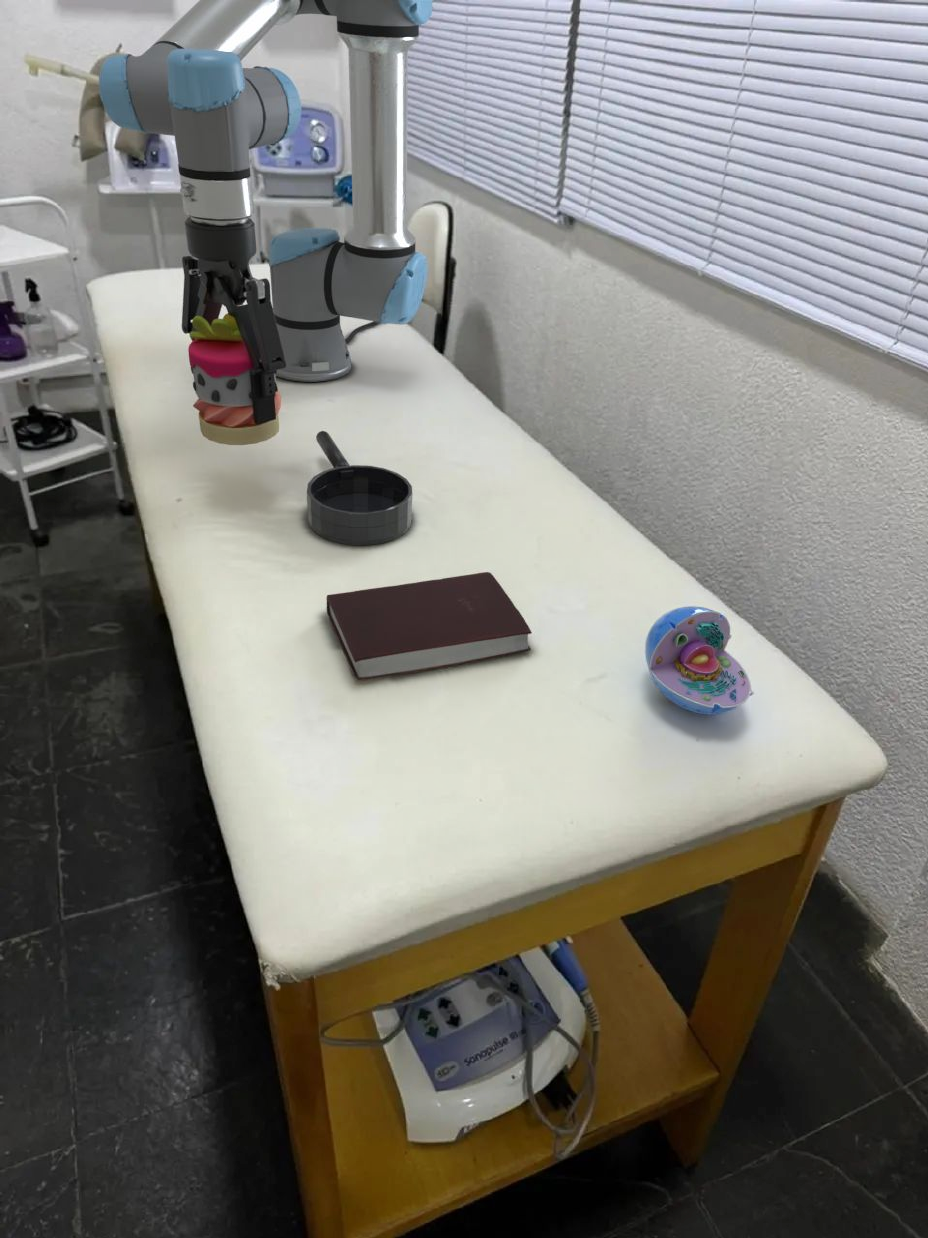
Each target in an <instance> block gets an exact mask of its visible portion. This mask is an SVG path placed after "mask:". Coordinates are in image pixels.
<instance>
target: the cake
mask: <svg viewBox="0 0 928 1238" xmlns="http://www.w3.org/2000/svg"><path fill="white" fill-rule="evenodd" d="M191 322H192V325H193V327H194V328H195V329H196V330H197V331H198V332H190V334H189V338H190V339H191V338H193V339H195V340H193V341H192V340H191V342H190V344H189V345H188V349H187V350H188V360H189V365H190V371H191V374H192V376H193V382H192V388H193V390H194V391H195V395H196V397H197V398H198V399H197V400H196V401H195V402H194V403H193V405H192V407H193V408H194V409H196V410H197V411H198V423H199V428H200V432H201V435H202V436H203V437H204V438H205V439H207V440H209V441H211V442H214V443H217V444H219V445H220V444H221V445H227V446H247V445H256V444H259V443H262V442H265V441H268V440H270V439H272V438H274V437H275V436H276V435H277V434H278V433H279V431H280V418H279V413H280V410H281V407H282V396H281V395H280V392H279V388H278V384H277V376H276V375H275V374H276V373H277V370H275V371H274V378H275V392H276V393H275V411H276V419H275V420H272V421H269V422H266V423H263V424H259V425H257V424H255V423H254V414H253V403H252V392H251V380H250V372H249V371H250V370H252V369H254V367H253V364H252V362H251V359H250V357H249V354H248V352H247V349H246V347H245V344H244V342H243V339H242V337H241V334H240V332H239V329H238V326H237V324H236V321H235V319H234V317H232V316H230V315H229V314H228V312H227V313H226V314H224V315H223V317H222V318H218V319H214V320H213V322H212V325H211V326H210V325H209V323H208V322H207V321H206V320H205V319H204V318H203V317H200V316H195V317H194V318H193V320H191ZM275 359H276V358H275ZM260 360H261V359H260ZM261 362H262V361H261Z"/></svg>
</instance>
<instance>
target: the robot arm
mask: <svg viewBox="0 0 928 1238" xmlns="http://www.w3.org/2000/svg"><path fill="white" fill-rule="evenodd" d="M434 1H435V0H198V1H197V2H196V3H195V4H194V5H193V6H192V7H191V8H190V9H189V10H188V11H187V12H185V14H184V15H182V17H181V18H179V19H178V20H177V21H176V22H175V23H174V24H173V25H172V26H171V27H170V28H169V29H168V30H167V31H165V33H164V34H163V35H162V36H161V37H159V38H158V40H156V41H155V42H154V43H153V44H152V45H151V46H150V47H149V48H148V49H146V50H145V51H144V52H143V53H142V54H141V55H137V56H136V55H133V54H131V53H126V54H122V55H121V54H117V55H116V54H114V55H110V56H108V57H107V58H105V60H104V62H103V63H102V65H101V68H100V71H99V75H98V92H99V96H100V101H101V103H102V104H103V108H104V112H105V113H106V115H107V116H108V118H109V119H110V120H111V122H113V123H114V125H116V126H117V127H119V128H122V129H125V130H130V131H135V132H141V133H142V134H146V135H148V134H155V135H163V136H172V137H174V141H175V143H174V144H175V148H176V155H177V156H176V157H177V163H178V164H177V167H178V174H179V182H180V189H179V194H180V195H181V199H182V207H183V212H184V214H185V215H187V216H188V217H187V218H186V220H185V221H184V227H185V235H186V246H187V251H188V253H189V254H190V255H186V256H182V258H181V262H182V269H183V293H182V310H181V312H182V314H181V330H182V332H183V333H184V334H186V335H187V334H189V335H190V332H198V331H197V330H196V329H195V328H194V327H193V325H192V321H193V318H194V317H195V316H200V317H203V318H204V319H205V320H206V321H207V322H208V323H209V325H210V326H211V325H212V322H213V320H214V319H220V318H219V317H220V314H221V311H222V307H225V309H226V311H227V313H228V314H229V315H230V316H232V317H234V319H235V321H236V324H237V326H238V329H239V332H240V334H241V337H242V339H243V342H244V344H245V347H246V349H247V352H248V354H249V357H250V359H251V362H252V364H253V367H254V369H252V370H250V371H249V372H250V380H251V392H252V403H253V414H254V423H255V424H257V425H259V424H263V423H266V422H269V421H272V420H275V419H276V411H275V393H276V392H275V378H274V371H275V370H277V373H276V374H275V375H276V378H277V377H278V378H280V379H284V380H287V381H293V382H303V383H304V382H305V383H314V382H315V383H317V382H327V381H332V380H337V379H339V378H342V377H344V376H346V375H347V374H349V372H350V371H351V369H352V363H351V362H352V359H351V354H350V352H349V349H348V345H347V343H349V342H350V341H351V340H352V339H353V337H354V336H355V335H356V333H358V332H360V331H362V330H364V329H365V330H366V329H368V328H371V327H373V326H376V325H378V324H381V325H386V324H391V325H397V326H398V325H401V326H403V325H406V324H409V322H411V321H412V320H413V318H414V317H415V316H416V314H417V312H418V310H419V308H420V305H421V303H422V300H423V297H424V293H425V290H426V285H427V279H428V278H427V277H428V263H427V257H426V256H425V255H424V254H423V253H421V252H419V251H416V240H417V239H416V236H415V235H414V234H413V233H412V232H411V231H410V230H409V229H408V226H407V211H408V210H407V205H408V203H407V202H408V201H407V199H408V194H407V193H408V103H409V102H408V100H409V99H408V98H409V97H408V95H409V94H408V89H409V86H408V84H409V52H410V50H411V48H412V47H413V46H414V45H415V43H416V42H417V41H418V40H419V38H420V26H422V25H425V24H427V22H428V21H429V20H430V18H431V16H432V14H433V8H434V7H433V3H434ZM298 15H324V16H330V17H331V16H332V17H336V34H337V36H339V38H340V39H341V41H342V42H343V43H344V44H345V45H346V48H347V50H348V51H347V55H348V80H349V81H348V83H349V84H348V85H349V89H348V90H349V120H350V122H349V123H350V124H349V125H350V157H351V161H350V162H351V192H352V193H351V195H352V196H351V197H352V226H351V227H350V228H349V229H348V231H347V232H345V234H344V236H343V238H344V239H343V242H342V241H340V240H341V237H340V235H339V232H338V230H336V229H332V228H328V227H314V228H312V227H311V228H301V229H293V230H288V231H284V232H280V233H278V234H276V235H275V236H274V237H272V238H271V240H270V243H269V259H268V260H269V262H268V267H269V273H270V275H269V276H270V280H269V279H268V278H267V277H266V278H265V277H264V278H259V279H258V278H256V277H253V274H252V271H251V268H250V261H251V259H252V258H254V256H255V255H256V254H257V237H256V225H255V222H254V221H253V219H252V218H251V217H252V216H253V215H254V213H255V207H254V194H253V193H254V192H253V184H252V175H251V165H250V164H251V162H250V150H252V149H256V148H261V147H266V146H275V145H276V144H279V143H280V142H282V141H284V140H286V139H288V138H290V137H291V136H292V135H293V134H294V133H295V131H296V130H297V129H298V128H299V125H300V122H301V118H302V102H301V96H300V94H299V91H298V88H297V87H296V85H295V83H294V82H293V81H292V80H291V78H290V77H289V76H288V75H287V74H286V73H285V72H283V71H281V70H279V69H277V68H273V67H268V66H260V65H255V66H253V67H243V64H242V60H244V58H245V57H246V56H248V54H249V53H250V52H251V51H252V50H253V49H254V47H256V46H257V44H258V43H259V42H260V41H261V40H262V39H263V38H264V37H265V36H266V34H268V32H270V31H271V29H272V28H273V27H274V26H281V25H285V24H287V23H289V22H290V21H291V20H292V19H294V17H295V16H298ZM245 302H246V304H245ZM341 317H345V318H352V319H358V320H363V321H364V320H365V321H370V322H368V323H365V324H362V325H361V326H358V327H356V328H354V329H353V330H352V331H351V332H350V334H349V335H348V336H347V337H346V338H345V336H344V333H343V329H342V327H341ZM190 339H191V342H192V341H193V340H195V339H193V338H190ZM275 358H276V359H275ZM260 359H261V360H260ZM261 361H262V362H261Z"/></svg>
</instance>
